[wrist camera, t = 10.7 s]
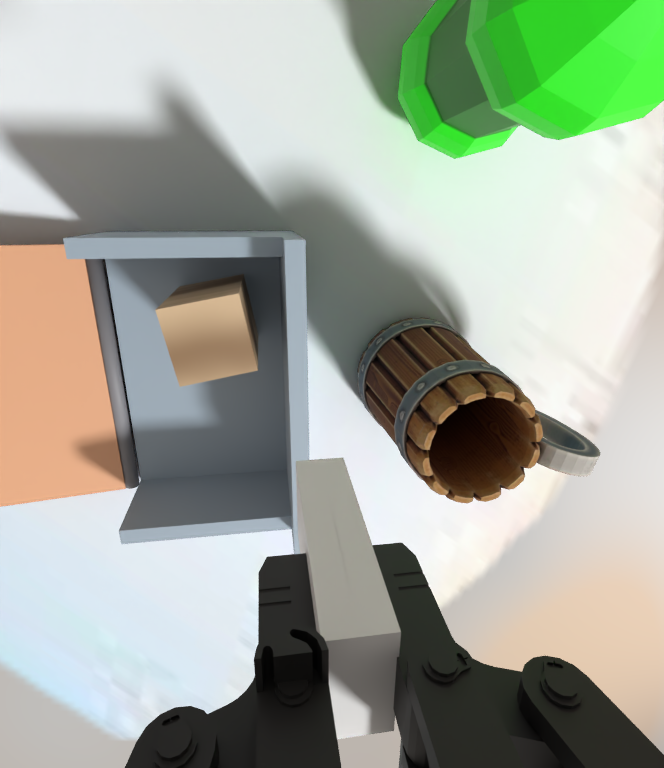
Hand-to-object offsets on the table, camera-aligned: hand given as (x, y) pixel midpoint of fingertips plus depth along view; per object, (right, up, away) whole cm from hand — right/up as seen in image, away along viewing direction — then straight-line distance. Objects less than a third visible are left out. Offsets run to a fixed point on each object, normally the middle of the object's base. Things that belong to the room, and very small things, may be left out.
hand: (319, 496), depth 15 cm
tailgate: (-17, +4, +23) cm, 29 cm away
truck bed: (-10, +5, +25) cm, 27 cm away
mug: (+10, +4, +29) cm, 31 cm away
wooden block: (-9, +9, +22) cm, 25 cm away
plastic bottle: (+9, +26, +20) cm, 34 cm away
